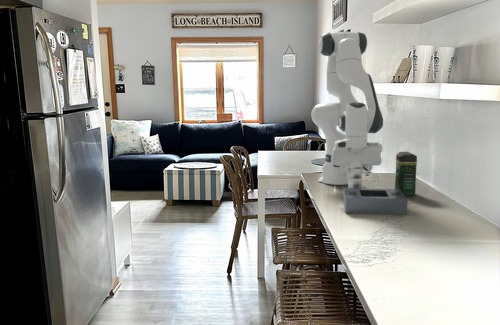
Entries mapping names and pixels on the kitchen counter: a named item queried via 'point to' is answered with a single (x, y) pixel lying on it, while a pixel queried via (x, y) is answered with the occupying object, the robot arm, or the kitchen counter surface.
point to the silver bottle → (355, 175)
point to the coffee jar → (406, 173)
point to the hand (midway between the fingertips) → (355, 175)
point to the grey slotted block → (375, 201)
